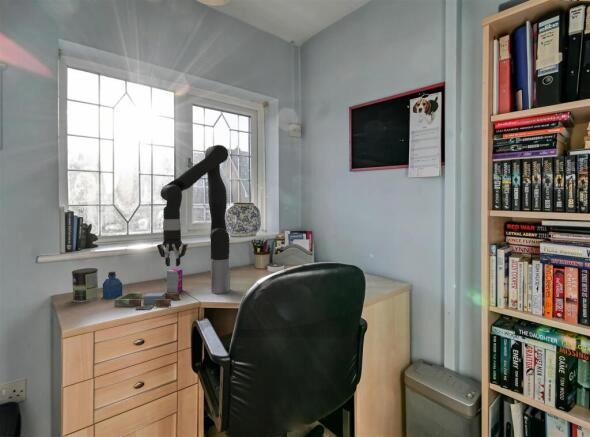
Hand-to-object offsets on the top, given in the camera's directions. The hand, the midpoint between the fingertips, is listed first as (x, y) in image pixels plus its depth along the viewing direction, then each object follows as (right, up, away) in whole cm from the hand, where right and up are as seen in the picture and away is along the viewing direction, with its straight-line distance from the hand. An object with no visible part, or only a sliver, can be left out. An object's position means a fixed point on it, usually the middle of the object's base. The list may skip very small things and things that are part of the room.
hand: (172, 265), depth 142 cm
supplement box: (-7, -17, +19) cm, 26 cm away
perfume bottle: (-35, -17, +12) cm, 40 cm away
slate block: (-9, -18, +1) cm, 20 cm away
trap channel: (-12, -17, +1) cm, 21 cm away
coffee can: (-45, -17, +7) cm, 49 cm away
